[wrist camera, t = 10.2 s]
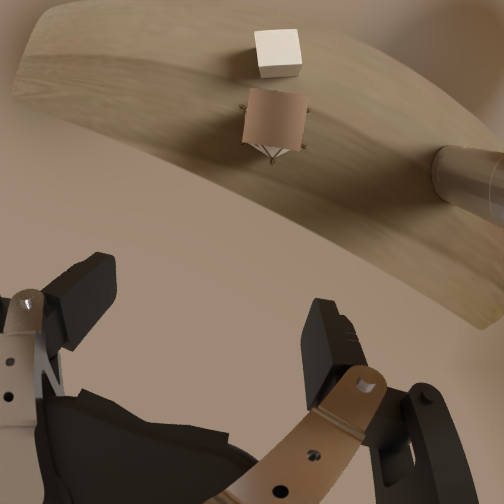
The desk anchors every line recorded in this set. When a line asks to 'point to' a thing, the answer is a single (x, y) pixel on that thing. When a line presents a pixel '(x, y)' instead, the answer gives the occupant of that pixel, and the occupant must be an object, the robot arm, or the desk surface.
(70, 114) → the desk surface
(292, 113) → the walnut block
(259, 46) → the white block
